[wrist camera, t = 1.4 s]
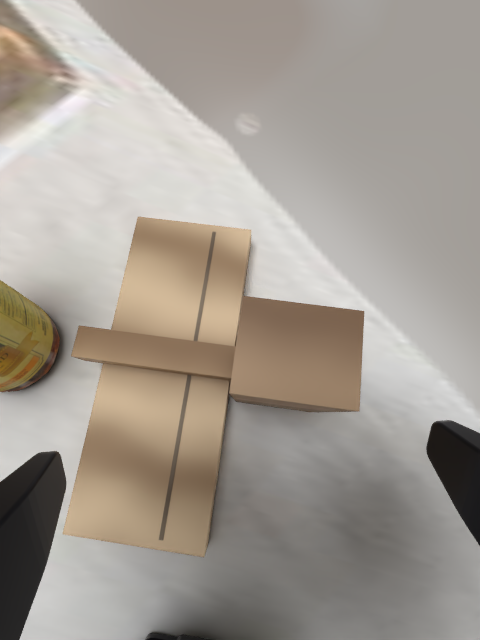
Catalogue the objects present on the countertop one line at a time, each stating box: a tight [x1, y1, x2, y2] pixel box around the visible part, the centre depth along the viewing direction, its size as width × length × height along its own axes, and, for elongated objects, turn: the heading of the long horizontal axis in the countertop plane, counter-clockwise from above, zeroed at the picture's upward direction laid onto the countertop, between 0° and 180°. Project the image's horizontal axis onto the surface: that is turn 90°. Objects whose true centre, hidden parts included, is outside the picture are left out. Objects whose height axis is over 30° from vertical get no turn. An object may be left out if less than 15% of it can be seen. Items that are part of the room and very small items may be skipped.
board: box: [63, 217, 251, 557], centre depth 23 cm, size 20×8×2 cm, turn 172°
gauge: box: [71, 296, 364, 412], centre depth 19 cm, size 4×15×10 cm, turn 82°
